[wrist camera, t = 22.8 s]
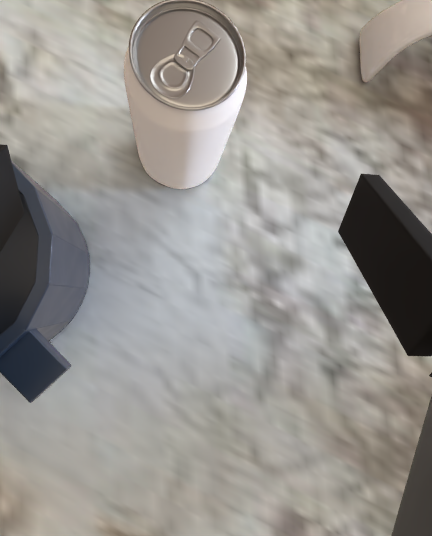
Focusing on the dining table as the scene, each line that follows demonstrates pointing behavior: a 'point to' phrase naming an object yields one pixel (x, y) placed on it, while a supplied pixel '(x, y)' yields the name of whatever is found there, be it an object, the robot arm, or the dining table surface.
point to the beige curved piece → (393, 34)
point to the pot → (39, 288)
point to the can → (184, 89)
